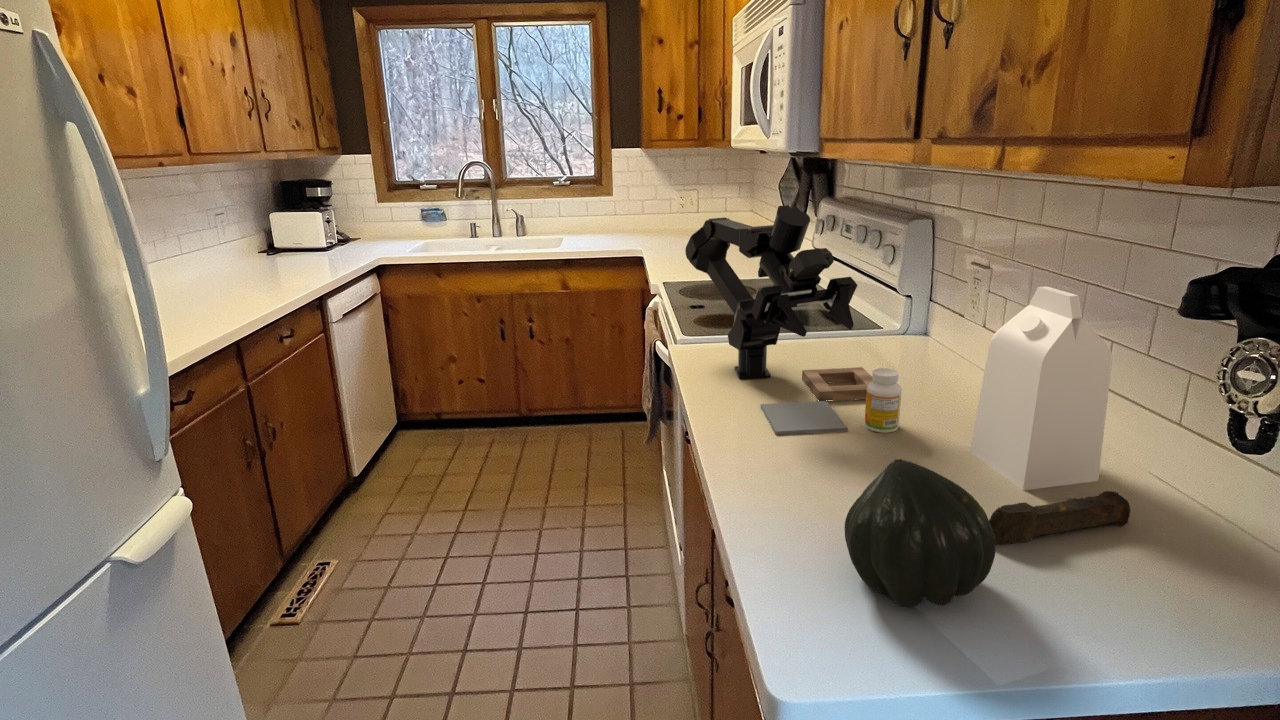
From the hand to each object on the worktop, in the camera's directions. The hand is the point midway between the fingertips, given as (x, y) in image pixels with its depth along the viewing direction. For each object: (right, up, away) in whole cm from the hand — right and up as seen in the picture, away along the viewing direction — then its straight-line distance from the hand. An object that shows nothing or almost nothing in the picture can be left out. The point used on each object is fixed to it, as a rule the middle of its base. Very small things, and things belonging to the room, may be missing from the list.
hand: (828, 330), depth 115 cm
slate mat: (-3, -15, +5) cm, 16 cm away
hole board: (+7, -10, +17) cm, 21 cm away
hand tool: (+19, -26, -31) cm, 45 cm away
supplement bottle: (+9, -16, 0) cm, 18 cm away
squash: (-1, -30, -39) cm, 49 cm away
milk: (+25, -21, -14) cm, 36 cm away
